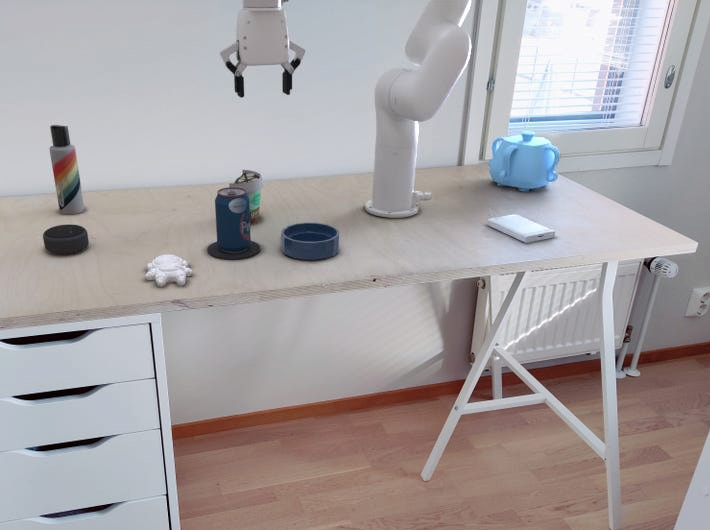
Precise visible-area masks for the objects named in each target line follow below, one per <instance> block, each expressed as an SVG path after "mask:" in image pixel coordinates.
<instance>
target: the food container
mask: <svg viewBox="0 0 710 530" xmlns="http://www.w3.org/2000/svg"><path fill="white" fill-rule="evenodd" d="M241 170H242V171H241V172H242V174H241V175H240V176H239V177H237V178H236V179H235V181H234V182H233V183H231V182H229V184H228V185H229V186H228V187H238V188H243V189H245V190H246V194H247V196H248V198H249V202H250V226H252V225H254V224H256V223H258V222H259V221H260V213H261V212H260V210H261V190H262V189H263V188H264V187H265V185H264V180H263V177H262V175H261V173H259V172H257V171H256V170H255V171H254V170H251V169H250V170H249V169H241Z"/></svg>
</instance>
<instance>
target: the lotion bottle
mask: <svg viewBox="0 0 710 530" xmlns="http://www.w3.org/2000/svg"><path fill="white" fill-rule="evenodd" d="M49 129H50V135H51V143H52V145H51V146H50V147H49V155H50V161H51V168H52V173H53V179H54V186H55V192H56V197H57V203H58V210H59V212H60V213H61V214H63V215H76V214H80V213H83V212H84V210H85V206H84V205H85V204H84V197H83V191H82V185H81V177H80V171H79V170H80V169H79V164H78V163H79V162H78V157H77V150H76V145H74V144H71V139H70V132H69V126H68V125H60V124H52V125H51V124H50V126H49Z"/></svg>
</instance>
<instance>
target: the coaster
mask: <svg viewBox="0 0 710 530" xmlns="http://www.w3.org/2000/svg"><path fill="white" fill-rule="evenodd" d="M206 251H207V255H209V256H211V257H213V258H216V259H219V260H225V261H241V260H247V259H250V258H254V257H255V256H257V255H258V254H259V253H260V252H261V246H260V244H259V243H257V242H256V241H253V240H251V243H250V245H249V247H248V248H247V250H245V251H243V252H240V253H227V252H224V251H222V250H221V249H220V247H219V246H218V244H217V241H215V242H212V243H211V244H209V245H208V246H207V249H206Z"/></svg>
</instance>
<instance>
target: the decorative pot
mask: <svg viewBox="0 0 710 530" xmlns="http://www.w3.org/2000/svg"><path fill="white" fill-rule="evenodd" d="M535 134H536V133H535V132H534V131H529V130H525V131H521V135H520V134H519V135H512V136H509V137H506V136H498V137H496V138H495V139H494V140H493V142H492V146H491V150H492V158H490V159H489V161H488V167H489V174H490V177H491V178H492V181H494V182H496V183H497V184H496V185H497V186H500V187H506V186H508V187H514V188H518V191H520V192H529V191H530V189H537V188H538V189H539V188H541V187H544V186H546V185H548V184H549V183H554V182H556V181H557V180H558V178H559V175H558V173H557V172H556V168H557V166H558V165H559V162H560V159H561V152H560V150H559V149H558V148H557V146H554V145H552V142H551V141H550V140H548V139H546V138H545V137H543V136H535ZM500 141H501V143H500V145H499V142H500Z"/></svg>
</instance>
